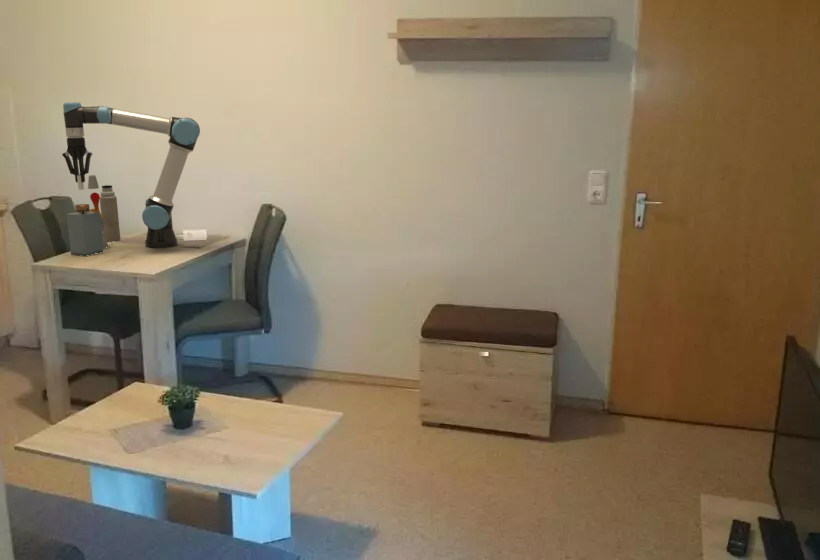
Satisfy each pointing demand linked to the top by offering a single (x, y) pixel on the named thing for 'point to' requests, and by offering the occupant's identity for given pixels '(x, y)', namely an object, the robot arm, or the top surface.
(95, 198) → the lava lamp
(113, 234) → the thermos bottle
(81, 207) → the plunger
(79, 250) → the grey utensil holder
